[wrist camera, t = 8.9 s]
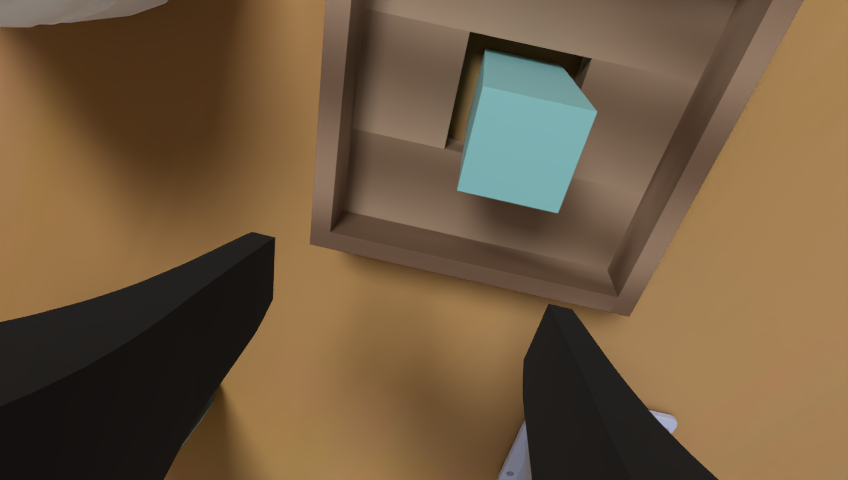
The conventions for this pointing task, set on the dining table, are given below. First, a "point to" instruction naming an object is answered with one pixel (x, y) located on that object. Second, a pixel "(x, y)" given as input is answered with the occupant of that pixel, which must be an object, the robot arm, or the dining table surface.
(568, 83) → the peg
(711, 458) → the dining table surface
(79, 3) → the honey pot
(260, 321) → the robot arm
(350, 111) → the socket box
